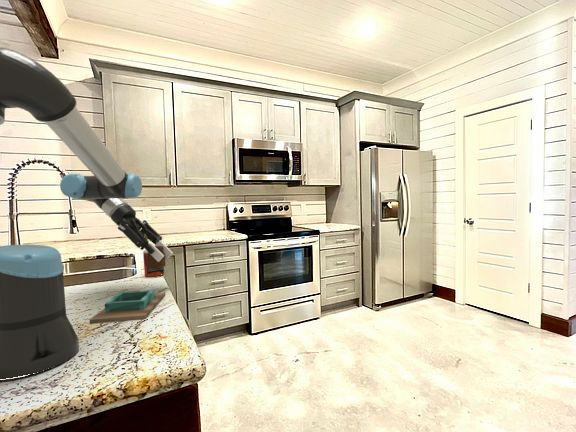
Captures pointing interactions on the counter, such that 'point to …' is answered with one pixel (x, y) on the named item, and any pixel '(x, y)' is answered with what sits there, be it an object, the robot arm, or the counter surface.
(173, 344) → the counter surface
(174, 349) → the counter surface
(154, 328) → the counter surface
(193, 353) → the counter surface
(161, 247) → the utensil holder
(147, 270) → the canned food
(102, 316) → the cradle jig
